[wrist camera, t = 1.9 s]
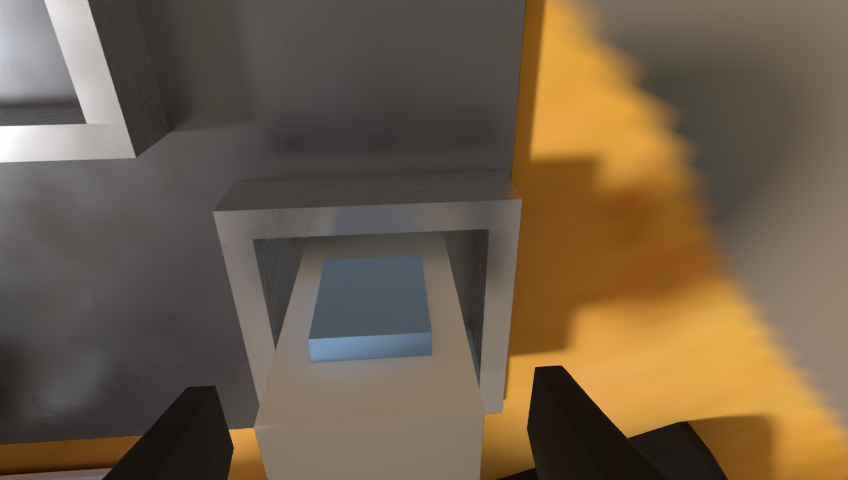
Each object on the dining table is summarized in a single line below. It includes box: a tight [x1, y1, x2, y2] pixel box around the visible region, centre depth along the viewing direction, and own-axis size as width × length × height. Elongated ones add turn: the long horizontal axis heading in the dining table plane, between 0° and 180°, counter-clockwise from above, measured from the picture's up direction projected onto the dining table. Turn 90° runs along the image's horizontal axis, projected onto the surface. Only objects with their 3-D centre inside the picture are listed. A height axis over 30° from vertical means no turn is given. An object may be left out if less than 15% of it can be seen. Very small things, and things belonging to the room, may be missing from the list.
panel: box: [0, 0, 526, 445], centre depth 13 cm, size 20×18×2 cm
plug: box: [254, 231, 484, 480], centre depth 12 cm, size 5×4×7 cm
